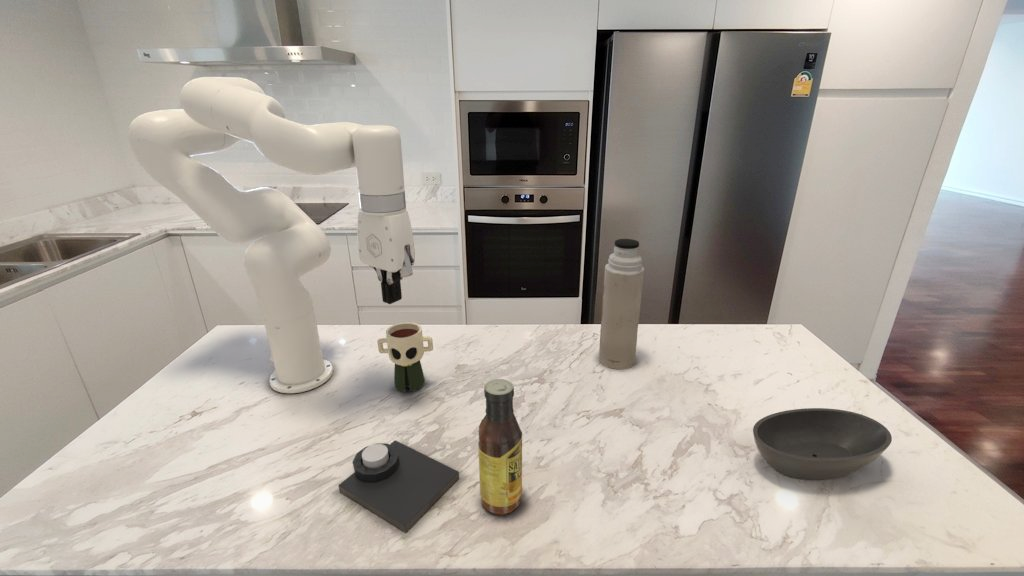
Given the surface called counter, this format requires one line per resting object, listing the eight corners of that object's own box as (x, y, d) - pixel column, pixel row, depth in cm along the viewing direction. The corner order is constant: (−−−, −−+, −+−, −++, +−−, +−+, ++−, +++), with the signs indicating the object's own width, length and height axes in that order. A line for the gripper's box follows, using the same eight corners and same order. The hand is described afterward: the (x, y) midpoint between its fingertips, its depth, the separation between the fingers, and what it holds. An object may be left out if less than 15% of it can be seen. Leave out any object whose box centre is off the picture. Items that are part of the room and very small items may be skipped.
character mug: (380, 396, 97) (372, 339, 92) (386, 376, 103) (379, 322, 98) (434, 393, 97) (429, 337, 92) (437, 374, 104) (433, 320, 99)
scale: (333, 488, 75) (330, 473, 73) (390, 443, 84) (388, 429, 83) (406, 533, 67) (403, 517, 66) (459, 478, 76) (458, 463, 75)
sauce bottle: (517, 520, 69) (516, 405, 61) (475, 513, 70) (469, 399, 62) (525, 486, 74) (525, 377, 67) (486, 480, 76) (482, 372, 68)
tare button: (357, 463, 76) (356, 455, 75) (376, 448, 79) (375, 440, 78) (375, 472, 74) (374, 465, 73) (394, 457, 77) (393, 449, 76)
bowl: (729, 446, 82) (735, 416, 80) (843, 431, 85) (852, 402, 83) (775, 501, 71) (784, 469, 69) (904, 482, 74) (917, 450, 72)
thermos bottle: (592, 362, 108) (600, 242, 97) (608, 347, 114) (616, 233, 103) (626, 373, 103) (637, 249, 93) (640, 357, 109) (652, 239, 99)
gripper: (336, 200, 82) (349, 297, 89) (396, 213, 74) (406, 318, 82) (371, 193, 88) (380, 285, 95) (430, 204, 80) (436, 303, 87)
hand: (392, 300), depth 88 cm, fingers closed
